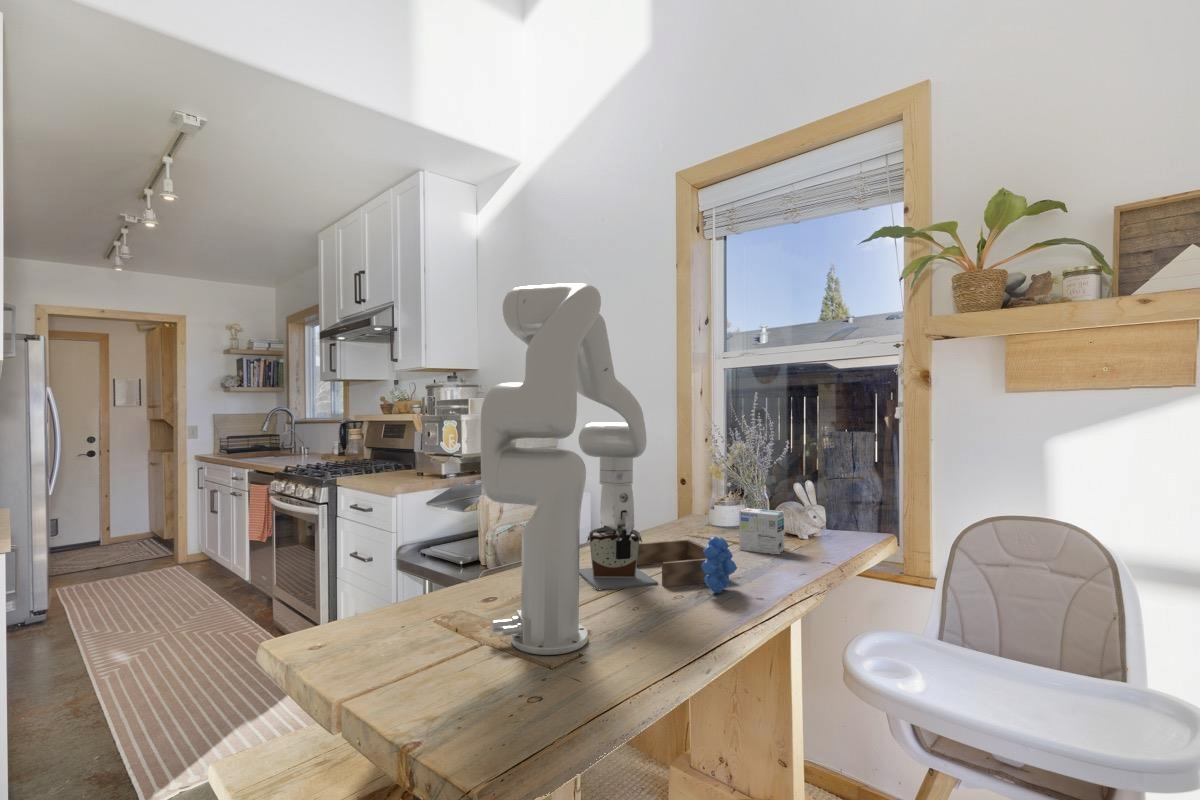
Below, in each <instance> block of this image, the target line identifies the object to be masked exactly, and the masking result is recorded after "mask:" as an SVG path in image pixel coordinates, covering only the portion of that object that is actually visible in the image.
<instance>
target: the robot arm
mask: <svg viewBox="0 0 1200 800" xmlns="http://www.w3.org/2000/svg"><path fill="white" fill-rule="evenodd" d="M601 305H602V296H601V293H600V291H599V290H598V288H597V287H595V286H593V285H592V284H588V283H587V284H586V283H581V282H580V283H579V282H577V283H576V282H575V283H574V282H573V283H570V282H569V283H555V284H553V283H552V284H541V285H540V284H539V285H527V286H526V285H524V286H518V287H514V288H513V289H511V290H509V292H507V293H506V295H505V297H504V299H503V302H502V315H503V320H504V323H505V324H506V326H507V328H508V329H509V330H510V332H511V333H512V334H513V336H516V338H518V339H519V340H520V341H522V342H523V343H524V344H525V345H526V346H527V347H526V352H525V365H524V366H525V368H524V369H525V372H524V373H525V375H524V380H523V382H502V383H498V384H495V385H493V386H492V387H491V388H490V389H489V390H488V391H487V393H486V394H485V397H484V399H483V401H482V405H481V410H480V411H481V412H480V478H481V479H480V480H481V486H482V490H483V493H484V494H485V496H486V497H487V498H488V499H489V500H491V501H493V502H495V503H499V504H508V505H509V504H510V505H511V504H512V505H524V506H526V505H528V506H533V507H535V508H536V510H535V511H534V513H533V515H531V517H530V519H528V521H527V522H526V524H525V526H524V527H523V531H522V534H521V587H520V588H521V589H520V590H521V591H520V595H521V596H520V597H521V599H520V602H521V603H520V609H516V615H513V616H510V618H506V619H504V618H499V619H492V620H491V631H492V633H499V632H501V635H502V636H503V637H505V636H511V637H510V638H511V639H510V640H511V643H512V645H513V647H515V648H516V649H518V650H520V651H521V652H525V653H529V654H532V655H540V656H541V655H542V656H543V655H544V656H553V655H554V656H555V655H563V654H567V653H571V652H574V651H577V650H579V649H582V647H584V646H585V645H586V644H587V643H588V640H589V632H588V630H587V628H586V627H584V626H583V625H582V624H581V623H580V575H579V569H580V540H581V539H580V531H581V529H580V528H581V527H580V526H581V525H580V524H581V512H582V506H583V505H582V502H583V499H584V498H583V497H584V491H585V485H586V478H587V470H586V464H585V461H584V460H583V458H582V457H581V456H580V455H579V454H577V453H576V452H574V451H572V450H569V449H564V448H557V447H536V446H535V447H534V446H533V447H528V446H527V447H526V446H525V447H522V446H517V440H535V441H537V440H539V441H540V440H541V441H543V440H546V441H547V440H548V441H550V440H553V441H554V440H555V441H556V440H562V439H566V438H568V437H570V436H571V435H572V434H573V432H574V430H575V429H576V425H577V424H576V423H577V413H578V409H577V408H578V394H580V396H582V397H585V398H587V399H589V400H591V401H594V402H596V403H598V404H601V405H603V406H605V407H607V408H609V409H611V410H613V411H614V412H616V413H618V415H620V416H621V417H622V418H623V420H625V421H623V422H622V421H620V422H619V421H617V422H616V421H615V422H614V421H612V422H611V421H608V422H604V421H600V422H599V421H595V422H589V423H586V424H585V425H584V426H583V427H582V428H581V430H580V432H579V433H578V445H579V448H580V450H581V451H582V453H583V454H585V455H586V456H588V457H593V458H599V484H600V485H601V490H600V491H601V492H600V508H599V509H600V515H599V516H600V524H601V526H600V528H603V527H609V528H611V529H612V530H616V534H617V538H618V540H617V541H616V559H618V560H619V559H630V557H631V535H632V529H634V528H635V505H634V503H635V502H634V492H633V486H632V485H633V484H634V483H633V482H634V481H633V480H634V459H636V458H639V457H641V456H642V455H643V454H644V452H645V450H646V448H647V432H646V431H647V430H646V423H645V417H644V411H643V409H642V406H641V405H640V402H639V401H638V399H637V398H636V397H635V395H633V394H632V392H631V390H629V389H628V388H627V387H626V386H625V385H624V384H623V383H621V382H620V381H619V380H618V379H617V378H616V375H615V374H616V373H615V369H614V364H613V358H612V353H611V347H610V346H611V345H610V342H609V335H608V330H607V326H606V322H605V319H604V317H603V316H602V315H601V314H600V311H601ZM620 531H623V532H622V534H621V532H620Z"/></svg>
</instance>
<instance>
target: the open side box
mask: <svg viewBox="0 0 1200 800" xmlns="http://www.w3.org/2000/svg"><path fill="white" fill-rule="evenodd" d="M705 547H706V546H704V545H702V544H700V543H697V542H696V541H693V540H691V539H689V538H688V539H677V540H666V541H665V540H664V541H652V542H642V543H641V542H639V550H638V558H637V566H639V565H650V564H651V565H652V564H660V563H661V586H662V587H664V588H665V587H667V588H668V587H675V586H686V585H695V584H705V581H704V578H705V576H706V575H707V574H705V573H704V571H703V570H702V567H701V565H702V563H703V562H704V561H706V560H708V559H707V558H706V557H705V555H704V553H703V550H704V548H705ZM727 578H728V580H729V581H730V575H729V576H727Z"/></svg>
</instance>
